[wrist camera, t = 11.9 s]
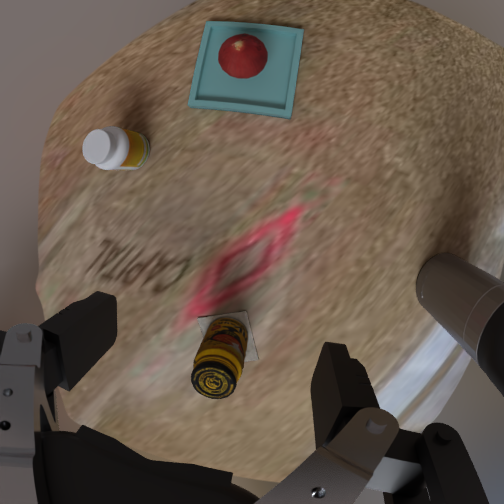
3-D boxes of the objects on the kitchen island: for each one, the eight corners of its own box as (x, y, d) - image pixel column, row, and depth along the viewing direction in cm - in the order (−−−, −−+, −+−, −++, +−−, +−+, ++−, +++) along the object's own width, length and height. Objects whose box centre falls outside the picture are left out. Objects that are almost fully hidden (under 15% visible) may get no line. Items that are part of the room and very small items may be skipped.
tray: (302, 34, 32) (303, 29, 31) (290, 119, 35) (290, 116, 34) (208, 26, 33) (206, 21, 31) (191, 107, 36) (187, 105, 34)
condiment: (246, 310, 42) (234, 357, 30) (258, 359, 44) (252, 412, 32) (197, 317, 43) (172, 363, 31) (212, 364, 45) (195, 416, 33)
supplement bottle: (145, 126, 37) (109, 114, 28) (155, 161, 38) (120, 158, 29) (113, 141, 38) (73, 135, 28) (122, 175, 39) (83, 177, 29)
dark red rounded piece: (234, 43, 33) (224, 15, 25) (275, 55, 33) (274, 28, 25) (217, 78, 34) (202, 56, 26) (258, 92, 34) (253, 71, 26)
